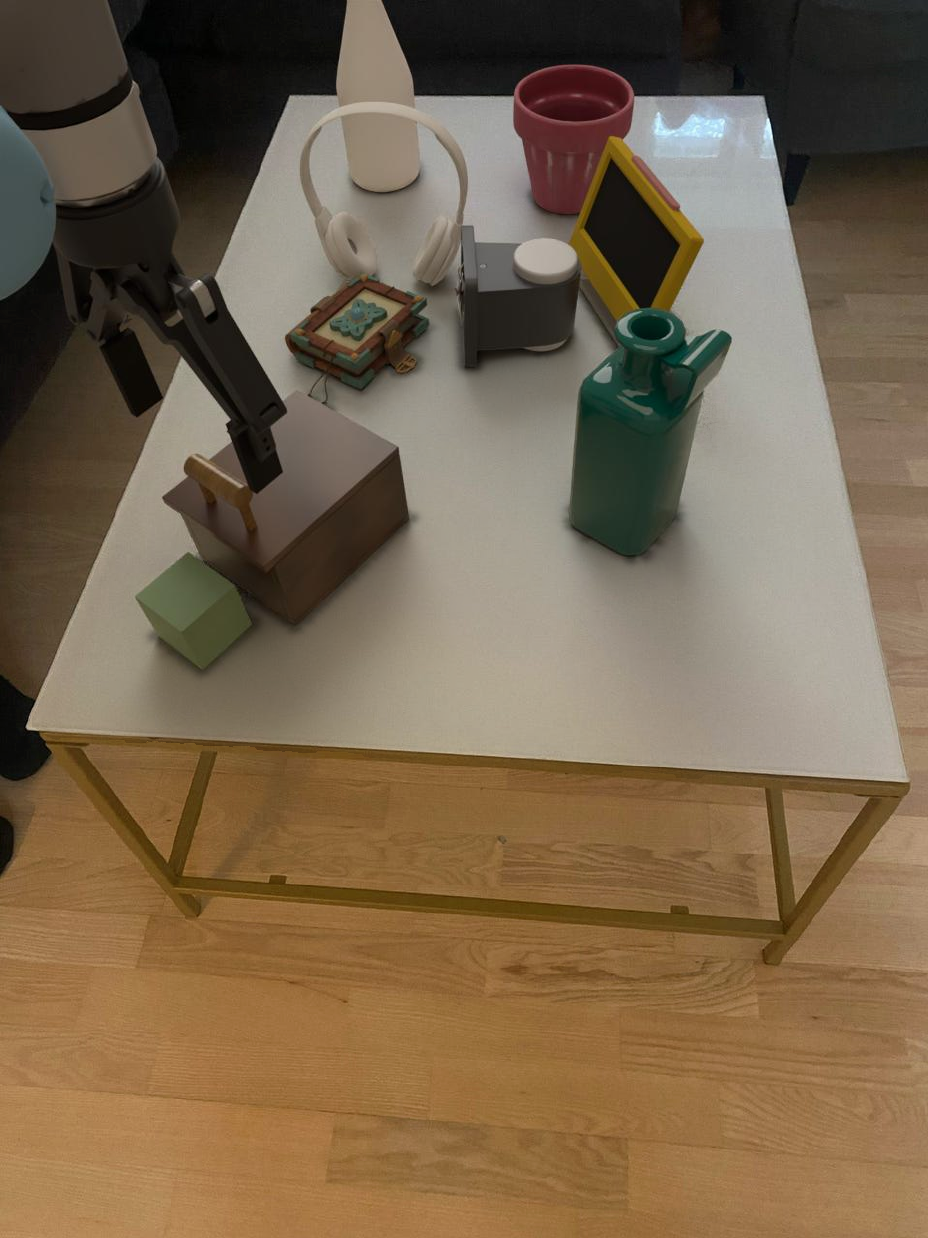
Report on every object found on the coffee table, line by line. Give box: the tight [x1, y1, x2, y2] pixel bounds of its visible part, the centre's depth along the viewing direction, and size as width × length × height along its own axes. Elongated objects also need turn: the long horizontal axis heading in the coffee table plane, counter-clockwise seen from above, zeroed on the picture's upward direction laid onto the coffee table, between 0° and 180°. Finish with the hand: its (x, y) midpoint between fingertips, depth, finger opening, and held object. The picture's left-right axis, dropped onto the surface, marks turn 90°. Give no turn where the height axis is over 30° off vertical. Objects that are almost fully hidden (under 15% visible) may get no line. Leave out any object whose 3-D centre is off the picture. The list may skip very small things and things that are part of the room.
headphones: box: [299, 102, 469, 287], centre depth 100 cm, size 7×18×20 cm, turn 82°
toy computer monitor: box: [567, 136, 705, 348], centre depth 96 cm, size 20×8×16 cm, turn 18°
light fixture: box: [454, 225, 582, 367], centre depth 97 cm, size 11×13×11 cm
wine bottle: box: [335, 0, 421, 193], centre depth 109 cm, size 10×10×30 cm
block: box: [134, 551, 253, 671], centre depth 78 cm, size 6×6×6 cm
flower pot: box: [512, 64, 635, 215], centre depth 111 cm, size 14×14×13 cm
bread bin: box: [180, 453, 410, 626], centre depth 82 cm, size 16×13×9 cm
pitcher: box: [568, 307, 733, 556], centre depth 76 cm, size 10×8×22 cm
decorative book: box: [284, 273, 430, 406], centre depth 98 cm, size 13×18×5 cm
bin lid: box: [161, 389, 400, 572], centre depth 76 cm, size 16×13×6 cm
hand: (204, 442), depth 69 cm, fingers open, 13 cm apart
